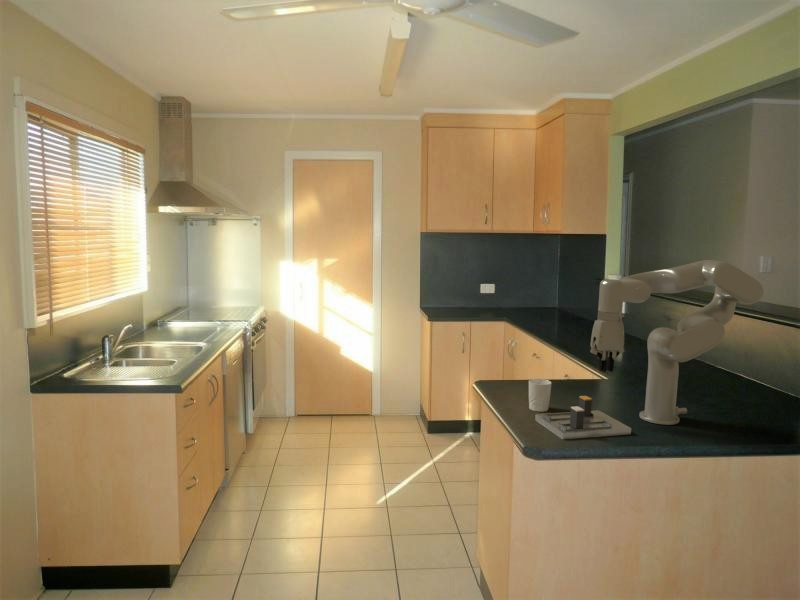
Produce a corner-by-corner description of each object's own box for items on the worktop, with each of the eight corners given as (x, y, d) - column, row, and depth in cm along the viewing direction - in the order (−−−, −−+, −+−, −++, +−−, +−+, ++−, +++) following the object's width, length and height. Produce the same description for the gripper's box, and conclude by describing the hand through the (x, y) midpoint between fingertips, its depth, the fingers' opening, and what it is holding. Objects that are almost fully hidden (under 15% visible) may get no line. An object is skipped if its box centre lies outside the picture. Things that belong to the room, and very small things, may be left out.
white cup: (546, 405, 213) (547, 378, 212) (552, 412, 206) (554, 384, 204) (524, 405, 213) (526, 378, 212) (530, 412, 205) (531, 384, 204)
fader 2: (584, 412, 199) (585, 395, 198) (590, 416, 196) (591, 398, 195) (578, 413, 198) (579, 396, 198) (584, 416, 195) (585, 399, 194)
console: (598, 415, 203) (598, 407, 203) (630, 434, 186) (631, 425, 185) (535, 420, 197) (535, 411, 197) (562, 439, 180) (563, 430, 179)
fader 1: (576, 424, 187) (578, 406, 186) (583, 428, 184) (584, 409, 183) (569, 425, 187) (571, 406, 186) (575, 428, 183) (577, 410, 182)
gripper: (623, 314, 200) (619, 367, 202) (582, 315, 196) (578, 369, 198) (637, 318, 193) (633, 372, 195) (594, 319, 189) (591, 374, 191)
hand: (605, 370), depth 197 cm, fingers closed
